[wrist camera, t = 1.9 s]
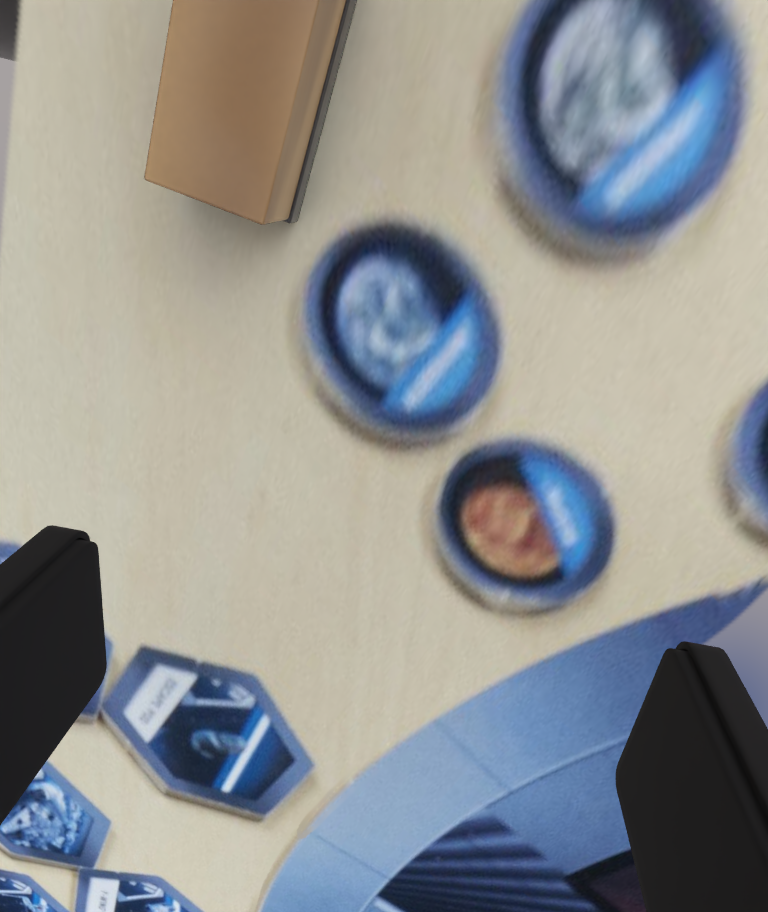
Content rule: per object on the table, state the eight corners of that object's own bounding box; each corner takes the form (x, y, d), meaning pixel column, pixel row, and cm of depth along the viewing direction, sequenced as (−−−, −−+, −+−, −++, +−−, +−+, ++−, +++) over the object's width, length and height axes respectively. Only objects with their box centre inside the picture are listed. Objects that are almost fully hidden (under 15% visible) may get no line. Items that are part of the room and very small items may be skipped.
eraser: (191, 181, 23) (139, 181, 20) (238, -64, 20) (187, -118, 16) (297, 222, 23) (265, 230, 20) (361, -15, 20) (337, -57, 16)
